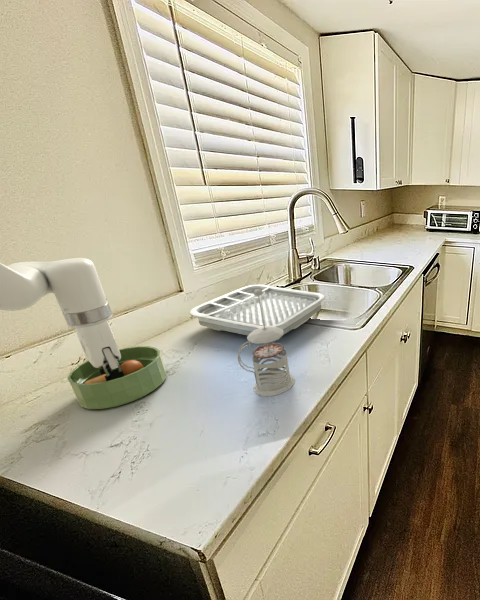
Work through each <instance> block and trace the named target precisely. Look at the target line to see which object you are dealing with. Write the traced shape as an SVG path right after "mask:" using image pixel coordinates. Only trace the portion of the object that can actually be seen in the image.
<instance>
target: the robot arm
mask: <svg viewBox="0 0 480 600" xmlns="http://www.w3.org/2000/svg"><path fill="white" fill-rule="evenodd" d="M49 294H54V297H55V299H56V301H57V304H58V306H59V308H60V310H61V313H62V315H63V317H64V320H65V322H66V325H67V327H68V328H73V329H75V332H76V335H77V338H78V340H79V342H80V346H81V348H82V352H83V354H84V356H85V358H86V361H89V362H90V363H91V364H92V366H93V367H95V368H100V370H99V371H100V373H101V375H104V374H106V375H105V379H106V381H110V380H113V379H117V378H121V377H124V374H123V371H122V370H121V368H120V365H119V363H118V360H120V359H121V354H120V351H119V349H120V348H119V345H118V342H117V340H116V338H115V335H114V332H113V329H112V327H111V324H110V322H109V320H111V319H112V318H113V316H114V314H113V312H112V309H111V307H110V304H109V301H108V299H107V296H106V293H105V290H104V287H103V285H102V282H101V279H100V276H99V274H98V271H97V268H96V265H95V264H94V262H93V261H92V260H91V259H90V258H89V259H88V258H86V257H72V258H65V259H64V258H63V259H58V260H53V261H20V262H19V261H18V262H14V263H11V264H8V265H6V264H4V263H2V262H0V310H1V311H5V312H6V311H8V312H9V311H10V312H16V311H22V310H26V309H28V308H31V307H32V306H34V305H36V304H37V303H38V302H39V301H40V300H41V299H42V298H43V297H45V296H47V295H49ZM101 368H102V369H101Z"/></svg>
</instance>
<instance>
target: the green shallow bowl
mask: <svg viewBox="0 0 480 600" xmlns="http://www.w3.org/2000/svg"><path fill="white" fill-rule="evenodd" d="M119 351H120V354H121V359H120V360H118V363H119V365H120V366H121V364H123V363H124V362H126V361H129V360H137V361H139V362H141V363H142V365H143V367H144V368H142V369H140V370H138V371H136V372H134V373H131V374H129V375H126V376H124V377H121V378H117V379H113V380H110V381H106V382H100V383H93V384H84V383H85V382H86V381H88V380H90V379H93V378H95V377H98V376H101V373H100V371H99V370H100V368H95V367H93V366H92V364H91V363H90V362H89V361H88V360H85V361H84V362H83V363H81V364H79V365H77V366H75V367H74V369H72V371H70V372H69V374H68V376H67V378H66V379H67V382H68V384H69V386H70V388H71V391H72V393H73V395H74V397H75V400H76V401H77V403H78V405H79V406H80V407H81V408H85V409H87V410H103V409H110V408H116V407H119V406H123V405H126V404H130V403H132V402H135V401H137V400H139V399H141V398H144V397H145V396H146V395H149V394H150V393H152V392H153V391H155V390H156V389H158V388H159V387H160V386H161V385H162V384H163V383H164V382H165V380H166V378H167V369H166V366H165V363H164V360H163V357H162V353H161V350H159V349H158V348H157V347H154V346H149V345H139V346H138V345H136V346H130V347H123V348H119ZM101 369H102V368H101Z"/></svg>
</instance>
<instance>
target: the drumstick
mask: <svg viewBox="0 0 480 600" xmlns="http://www.w3.org/2000/svg"><path fill="white" fill-rule="evenodd" d="M120 368H121V370H122V371H123V374H124V376H126V375H129V374H131V373H134V372H136V371H138V370H140V369H142V368H144V367H143V365H142V363H141V362H139V361H137V360H129V361H126V362H124V363H123V364H121V366H120ZM105 375H106V374H104V375H101V376H98V377H95V378H93V379H90V380H88V381H86V382H85V383H84V384H93V383H100V382H106V379H105Z"/></svg>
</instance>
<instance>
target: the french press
mask: <svg viewBox="0 0 480 600" xmlns="http://www.w3.org/2000/svg"><path fill="white" fill-rule="evenodd" d="M262 294H263V292H262V290H260V289H256V290H255V291H254V295H255V296H258V298H259V295H262ZM259 303H260V298H259ZM260 309H261V303H260ZM261 314H262V309H261ZM262 320H263V314H262ZM263 325H264V320H263ZM283 333H284V331H283V329H280V328H278V327H273V326H266V327H265V325H264V327H261V328H259V329H256V330H254V331H253V332H251V333H250V334H249V335H247V336H246V338H247V341H246V342H244V343H242V344H241V346H240V347H239V349H238V354H237V361H238V364H239V366H240V367H241V368H242V369H243V370H245V371H246V372H250V373H253V375H254V380H255V383H254V385H253V392H254V394H256V395H258V396H262V397H273V396H277V395H280V394H284V393H285V392H288V390H290V389H291V388H292V387H293V386H294V384H295V381H296V379H295V377H294V376H293V374H290V373H291V372H290V367H289V361H288V355H287V351H286V349H285V346H284V344H282V343H280V342H276V341H279V340H280V339H281V338H282V337H283V336H284V335H283ZM247 343H248V344H247ZM251 344H253V345H255V344H256V345H258V346H257V347H255V348H254V349H253V350H252V353H251V354H252V364H253V367H252V366H248V365H246V364H245V363H244V362H243V360H242V358H241V352H242V350H244V348H246V347H248V349H249V350H251V348H252V345H251ZM280 356H281V357H280ZM274 358H275V359H274ZM245 367H246V368H245ZM247 368H248V369H247ZM249 369H253V370H249Z"/></svg>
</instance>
